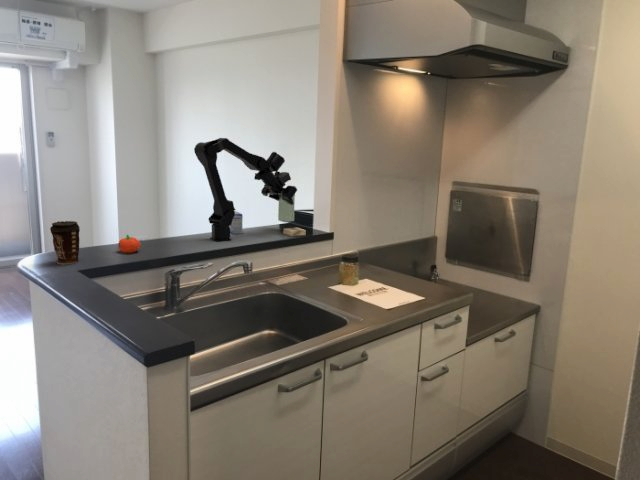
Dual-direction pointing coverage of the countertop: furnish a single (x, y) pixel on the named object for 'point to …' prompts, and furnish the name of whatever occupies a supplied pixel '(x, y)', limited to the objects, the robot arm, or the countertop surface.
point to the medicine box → (236, 224)
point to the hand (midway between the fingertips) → (288, 203)
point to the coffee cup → (66, 241)
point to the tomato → (128, 244)
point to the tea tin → (285, 210)
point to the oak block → (294, 231)
